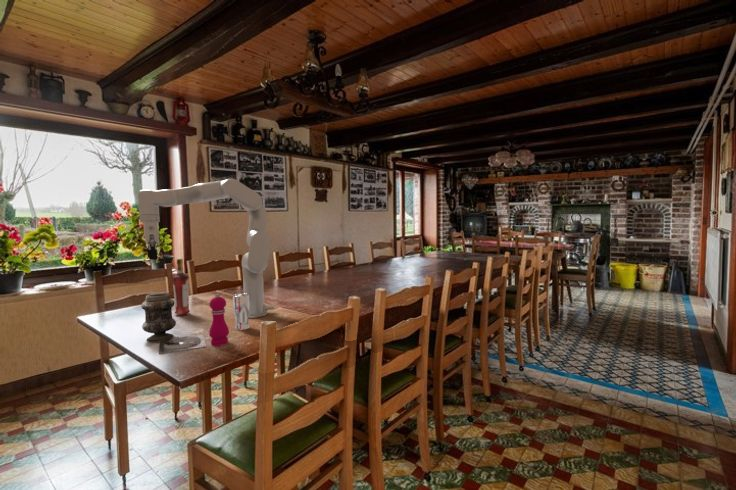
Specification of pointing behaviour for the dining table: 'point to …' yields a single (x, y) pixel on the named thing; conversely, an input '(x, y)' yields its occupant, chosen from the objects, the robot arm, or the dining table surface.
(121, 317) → the dining table surface
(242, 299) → the white drink can
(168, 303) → the stone urn vase
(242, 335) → the dining table surface
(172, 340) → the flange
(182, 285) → the liquor
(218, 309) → the pepper mill
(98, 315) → the dining table surface
